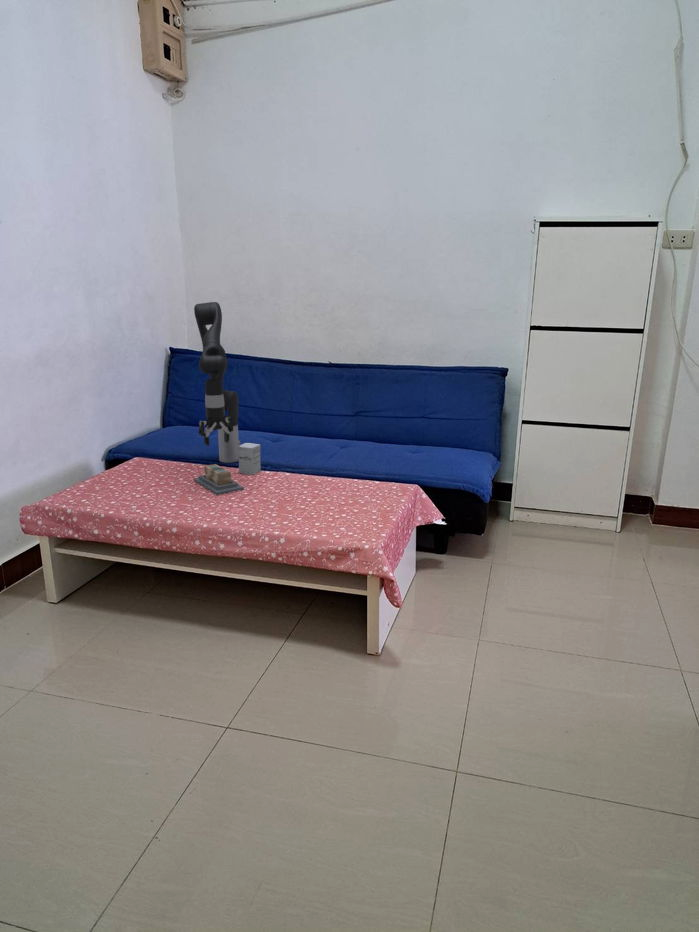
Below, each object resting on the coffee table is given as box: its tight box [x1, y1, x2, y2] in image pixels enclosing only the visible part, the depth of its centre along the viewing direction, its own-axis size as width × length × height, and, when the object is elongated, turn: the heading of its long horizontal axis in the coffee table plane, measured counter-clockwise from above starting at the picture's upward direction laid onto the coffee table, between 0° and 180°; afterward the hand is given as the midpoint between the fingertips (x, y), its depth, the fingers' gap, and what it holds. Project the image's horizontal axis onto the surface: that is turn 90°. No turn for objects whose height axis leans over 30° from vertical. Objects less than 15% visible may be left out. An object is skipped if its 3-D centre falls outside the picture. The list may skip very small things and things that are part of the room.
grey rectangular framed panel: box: [193, 474, 244, 496], centre depth 276 cm, size 22×12×3 cm, turn 37°
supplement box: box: [238, 442, 262, 476], centre depth 293 cm, size 7×7×13 cm
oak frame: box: [204, 463, 232, 486], centre depth 275 cm, size 14×5×6 cm, turn 37°
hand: (216, 443), depth 271 cm, fingers open, 8 cm apart
